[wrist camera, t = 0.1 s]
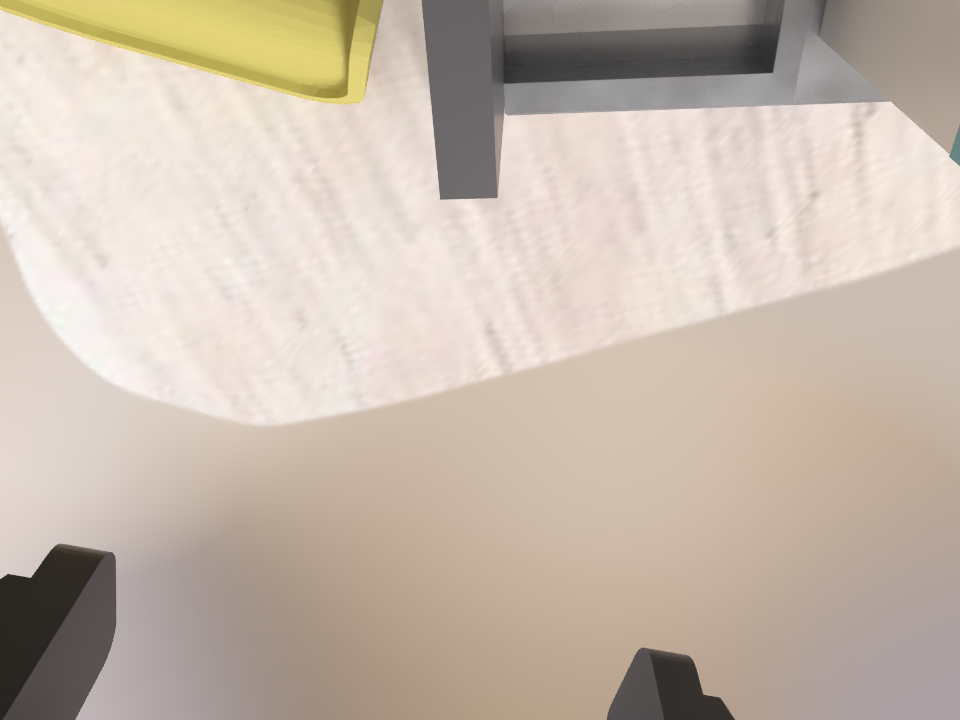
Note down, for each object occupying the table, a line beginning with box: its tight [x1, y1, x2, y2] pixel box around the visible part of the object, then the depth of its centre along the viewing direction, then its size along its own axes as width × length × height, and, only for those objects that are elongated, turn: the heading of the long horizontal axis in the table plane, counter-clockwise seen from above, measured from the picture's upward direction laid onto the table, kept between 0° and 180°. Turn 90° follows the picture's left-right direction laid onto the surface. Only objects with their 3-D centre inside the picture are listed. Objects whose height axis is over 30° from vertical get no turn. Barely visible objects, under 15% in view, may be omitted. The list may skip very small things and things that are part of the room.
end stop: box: [422, 0, 505, 200], centre depth 22 cm, size 2×7×10 cm, turn 3°
